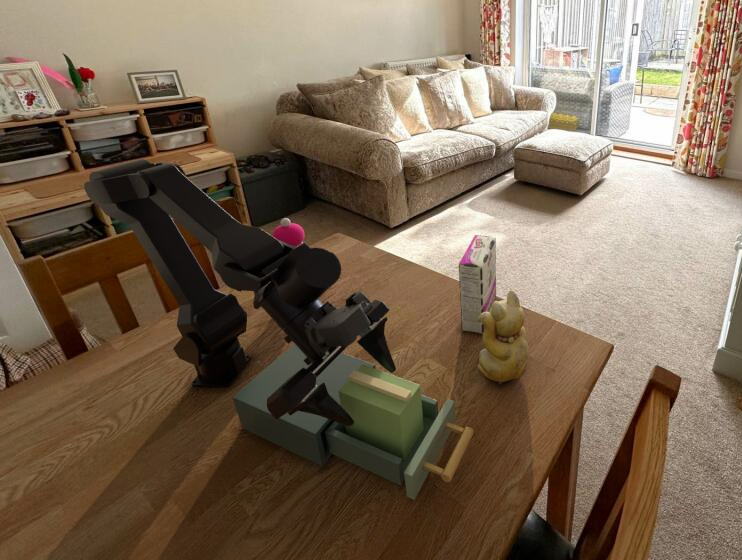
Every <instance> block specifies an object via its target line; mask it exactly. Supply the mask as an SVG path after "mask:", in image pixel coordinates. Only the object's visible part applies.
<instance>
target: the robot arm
mask: <svg viewBox="0 0 742 560" xmlns="http://www.w3.org/2000/svg"><path fill="white" fill-rule="evenodd" d="M83 184H84V185H83V188H84V192H85V193H86V195H87V198H89V200H91V202H93V203H94V204H95V205H98V207H99V208H100V209H101V211H102V212H103V213H104V214H105V215H106V216H108V217H110V218H111V219H114V220H116V221H118V222H121V223H123V224H125V225H127V226H129V227H130V229H131V231H132V233H134V235H135V237H136V238H137V240H138V241H139V244H140V245H141V246H142V248H143V250H144V251H145V253H146V254H147V256H148V258H149V259H150V261H151V262H152V264H153V265H154V267H155V268H156V271H157V272H158V273H159V275H160V277H161V278H162V280H163V281H164V283H165V285H166V286H167V288H168V289H169V290H170V293H171V295H172V296H173V297H174V299H175V300H176V302H177V304H178V306H179V307H178V313H177V319H176V320H177V321H176V327H177V329H178V331H179V333H180V335H181V338H180V339H179V340H178V341H177V343H176V344H174V346H173V347H172V349H173V351H174V353H175V354H176V356H177V357H178V359H179V360H182V361H184V362H186V363H188V364H191V365H193V366H194V368H195V371H196V376H195V378H194V379H193V380H192V382H191V386H192V387H197V388H198V387H201V388H203V387H204V388H205V387H206V388H208V387H209V388H228V387H230V386H231V385H232V384H233V383H234V381H235V380H236V379H237V378H238V376H239V375H240V374H241V372H242V371H243V370H244V368H245V367H246V366H247V364H249V362H250V360H251V359H252V356H251V355H250V354H245V351H244V347H243V346H242V345H241V344H240V340H239V337H240V336H242V334H244V333H246V332H247V325H248V313H247V311H246V310H245V308H244V307H243V306H242V305H240V302H239V300H238V299H237V296H236V295H234V294H233V293H228V294H227V293H225V292H222V291H220V290H217V289H215V287H214V286H213V284H212V282H211V281H210V280H209V278H208V276H207V274H206V273H205V271H204V270H203V267H202V266H201V264H200V263H199V261H198V260H197V258H196V256H195V254H194V253H193V251H192V250H191V248H190V246H189V244H188V243H187V241H186V239H185V238H184V236H183V234H182V233H181V231H180V229H179V228H178V226H177V224H179V225H180V226H181V227H182V228H183V229H185V231H186V232H188V233H189V234H190V235H191V236H192V237H193V238H195V240H197V241H198V242H199V243H200V244H201V245H203V246H204V248H206V249H207V250H208V251H209V253H211V259H212V260H211V261H212V267H213V270H214V271H215V272H216V273H217V274H218V275H219V277H220V279H221V281H222V283H224V285H226V286H227V287H228V288H230V289H231V290H234V291H236V292H253V294H254V298H253V302H252V304H253V308H254V310H259V309H260V308H262V309H263V311H265V312H266V313H267V315H268V316H269V317H270V318H271V320H273V322H274V323H275V324H276V325H277V326H278V327H279V328H280V329H281V330H282V331H283V333H284V334H286V336H285V337H284V338H283V340H284V341H285V343H287V344H288V345H289V344H290V343H293V344H296V346H297V347H298V348H299V349H300V350H301V351H302V352H303V353H304V354H305V356H306V358H305V359H304V360H303V361H304V362H305V363H306V364H307V365H310V364H311V363H312V364H311V365H310V366H309V367H308V368H307V369H305V368H302V369H301V370H299V371H298V372H297V373H295V374H294V375H293V376H291V377H290V378H289V379H288V380H287V381H286V382H285V383H283V384H282V385H281V386H280V387H279V388H278V389H277V390H276V391H275V392H274V393H273V394H272V395H271V396H270V397H268V398H267V408H268V411H269V412H270V413H271V414H272V415H273V416H274V417H275V418H276V420H277V419H278V418H280V417H281V416H283V415H284V414H286V413H287V412H288V414H289V415H292V414H294V413H295V412H297V411H301V412H306V413H310V414H315V415H319V416H322V417H324V418H327V419H330V420H333V421H335V422H338V423H341V424H344V425H346V426H351V425H353V424H354V421H353V419H352V418H351V416H350V415H349V414H348V413H347V412H346V411H345V410H344V409H343V408H342V407H341V406H340V405H339V404H338V403H337V402H336V401H335V400H334V399H333V398H332V397H331V396H330V395H329V393H328V391H327V388H326V385H325V383H324V382H323V383H322V384H321V385H319V386H317V385H316V378H317V377H318V376H319V375H320V374H321V373H322V372H323V371H324V370H325V369H326V368H327V367H328V366H329V364H330V363H331V362H332V361H333V360H334V359H335V358H336V357H337V356H338V355H339V354H340V353H343V352H344V350H346V348H348V347H349V346H351V345H352V344H354V342H355V341H356V343H357V344H358V345H359V346H360V347H361V348H362V349H363V350H364V351H366V353H367V354H369V355H370V356H371V357H372V359H374V360H375V361H376V362H377V363H378V364H379V365H380V366H381V367H382V368H384V369H385V370H386V371H388V373H389V374H394V372H396V370H397V367H396V364H395V362H394V359H393V356H392V354H391V351H390V348H389V346H388V343H387V339H386V336H385V330H386V329H385V327H386V323H387V321H388V316H386V314H388V313H389V311H391V310H390V307H388V305H387V304H386V303H385V302H384V301H383V300H378V299H374V300H373V301H371V300H370V298H369V297H368V296H367V295H365V294H364V293H363V292H362V291H361V290H358V291H354V292H353V293H351V294H350V295H349V296H348V297H347V298H346V299H345V303H344V304H343V305H342V306H341V307H338V308H337V307H335V305H334V304H333V303H332V302H329V300H327V301H326V302H325V303H323V302H322V301H321V300H320V299H319V298H321V297H322V296H323V295H324V294H325V293H326V292H327V291H329V289H330V288H332V286H333V285H335V283H337V281H338V280H339V279H340V276H341V275H342V265H341V262H340V259H339V258H338V256H337V255H336V254H335V253H334V252H331V251H329V250H328V249H325V248H322V247H310V246H309V245H308V244H307V243H306V241H305V242H304V241H302V242H303V243H301V244H300V245H298V246H297V247H294V246H292V245H289V244H287V243H284V242H282V241H279V240H277V239H276V238H274V237H273V236H272V234H271V233H269V232H267V231H266V230H264V229H263V228H260V227H256V226H251V225H248V224H247V225H246V224H242V222H240V221H238V220H237V219H235V218H234V217H233V216H232V215H231V214H230V213H229V212H227V211H226V210H225V209H224V208H223V207H222V206H221V205H219V204H218V203H217V202H216V201H214V199H212V197H210V196H209V195H207V193H205V192H204V191H203V190H202V189H201V188H199V187H198V186H197V184H195V183H194V182H193V181H192V180H190V179H189V178H188V177H187V174H186V172H185V170H184V169H183V168H182V167H181V166H180V165H179V164H177V163H175V162H172V163H171V162H170V163H169V162H167V161H162V162H160V161H159V162H150V161H148V160H147V159H143V158H140V159H137V160H136V159H135V160H132V161H129V162H125V163H120V164H117V165H113V166H109V167H106V168H102V169H99V170H95V171H91V172H90V174H89V176H88V181H85V182H84V183H83ZM175 222H177V224H176V223H175ZM358 337H360V338H359V339H358ZM357 339H358V340H357ZM327 351H328V352H329V354H328V355H327V356H326V357H325V358H324V359H322V358H323V357H324V356H325V355H326V354H325V353H326V352H327Z"/></svg>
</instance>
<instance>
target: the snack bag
mask: <svg viewBox="0 0 742 560" xmlns="http://www.w3.org/2000/svg"><path fill="white" fill-rule="evenodd" d="M348 378H349V379H348V381H347V382H346V383H345V384H344V385H343V386H342V387H341V388H340V389H339V391H338V392H339V398H340V403H341V407H342V408H343V409H344V410H345V411H346V412H347V413H348V414H349V415H350V416H351V418H352V419H353V421H354V424H353V425H351V426H346V425H345V430H346V435H348V436H351V437H353V438H355V439H357V440H360V441H362V442H364V443H367V444H369V445H371V446H373V447H376V448H378V449H380V450H383V451H385V452H387V453H390V454H392V455H394V456H396V457H399V458H401V459H402V460H404V461H405V459H406V458H407V456H408V454H409V453H410V451H411V449H412V448H413V446H414V444H415V443H416V441H417V440H418V438H419V436H420V435H421V433H422V431H423V430H424V425H423V413H422V401H421V395H422V388H421V384H419V383H415V382H413V381H411V380H408V379H405V378H402V377H400V376H397V375H394V374H392V373H389V372H386V371H383V370H380V369H378V368H376V369H375V368H372V367H369V366H366V365H364V364H362V365H361V366H360V367H359V368H358V369H357V371H355V370H354V371H353V372H352V373H351V374H350V375H349V376H348Z"/></svg>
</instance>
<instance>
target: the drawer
mask: <svg viewBox="0 0 742 560" xmlns="http://www.w3.org/2000/svg"><path fill="white" fill-rule="evenodd" d="M421 401H422V413H423V425H424V430H423V431H422V433H421V435H420V436H419V438H418V440H417V441H416V443H415V444H414V446H413V448H412V449H411V451H410V453H409V454H408V456H407V458H406V459H405V461H404V460H402V459H401V458H399V457H396V456H394V455H392V454H390V453H387V452H385V451H383V450H380V449H378V448H376V447H373V446H371V445H369V444H367V443H364V442H362V441H360V440H357V439H355V438H353V437H351V436H348V435H346V430H345V425H344V424H341V423H338V422H335V421H334V422H333V423H332V424H331V426H330V427H329V428H328V429H327V430H326V432H325V434H326V439H327V443H328V448H329V452H330V453H331V454H332V456H333V455H334V456H335V457H337V458H340V459H342V460H344V461H346V462H348V463H351V464H353V465H356V466H357V467H360V468H362V469H364V470H365V471H368V472H370V473H373V474H374V475H377V476H379V477H381V478H383V479H385V480H388V481H390V482H392V483H395V484H397V485H399V486H402V485H403V483H404V485H405V492H406V493H405V494H406V497H407V498H409V499H411V500H413V501H415V500H416V498H417V496H418V495H419V493H420V491H421V489H422V487H423V485H424V483H425V481H426V479H427V478H428V475H429V474H430V473H433V474H436V475H438V476H440V477H441V479H442V480H443V481H444V482H445V483H451V482H452V479H453V477H454V475H455V473H456V471H457V469H458V467H459V464H460V463H461V460H462V459H463V456H464V454H465V452H466V450H467V448H468V447H469V444H470V442H471V440H472V437H473V436H474V429H473V428H472V427H470V426H465V428H464V427H462V426H459V425H456V406H455V405H456V403H455V400H452V399H449V398H447V399H446V401H445V402H444V403H443V406H442V408H441V410H440V411H439V401H438V400H437V399H434V398H432V397H429V396H426V395H423V394H421ZM451 432H455V433H457V434H460V437H459V440H458V441H457V442H456V445H455V447H454V449H453V451H452V453H451V455H450V457H449V459H448V461H447V463H446V465H445V467H444V468H442V467H440V466H438V465H435V463H436V460H437V459H438V457H439V455H440V454H441V451H442V449H443V448H444V446H445V444H446V442H447V440H448V438H449V436H450V434H451Z"/></svg>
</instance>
